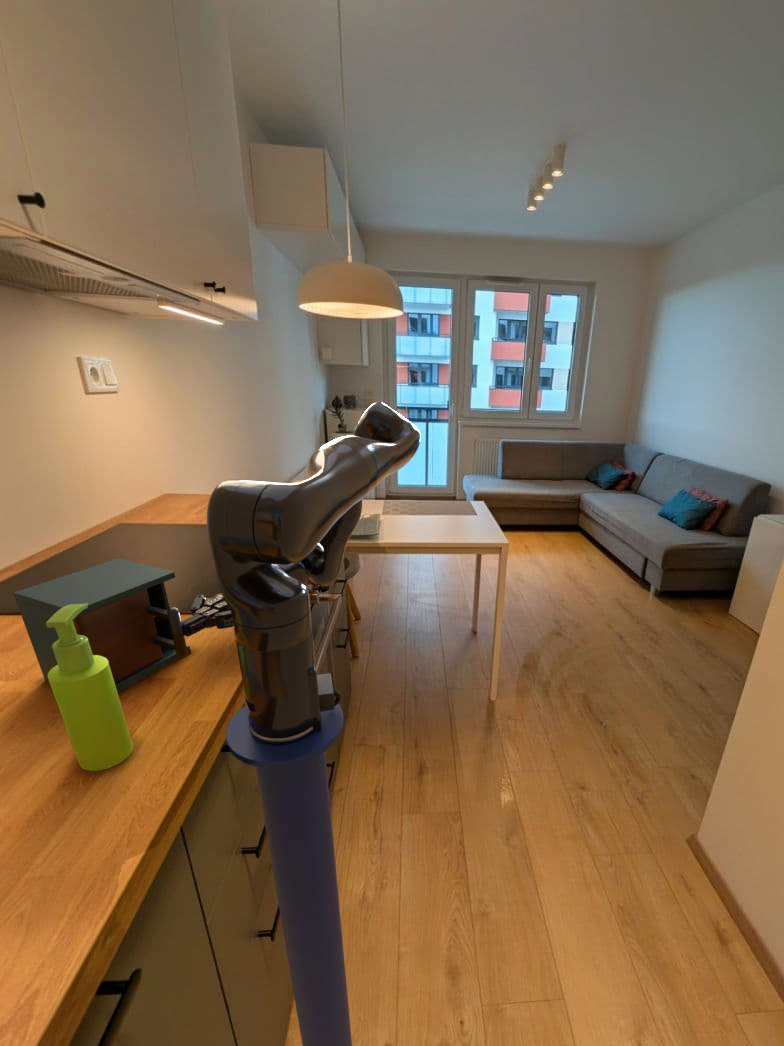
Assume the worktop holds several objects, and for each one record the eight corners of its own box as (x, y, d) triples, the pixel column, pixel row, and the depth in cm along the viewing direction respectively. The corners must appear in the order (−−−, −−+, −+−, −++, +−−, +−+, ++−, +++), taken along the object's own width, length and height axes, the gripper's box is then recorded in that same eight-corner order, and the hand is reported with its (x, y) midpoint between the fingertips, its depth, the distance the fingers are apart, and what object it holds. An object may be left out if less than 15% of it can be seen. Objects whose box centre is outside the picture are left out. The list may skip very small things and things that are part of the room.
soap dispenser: (143, 732, 69) (105, 599, 60) (122, 768, 63) (77, 626, 54) (95, 735, 68) (50, 601, 59) (69, 773, 62) (15, 629, 53)
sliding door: (193, 667, 82) (178, 596, 76) (134, 702, 73) (112, 624, 68) (158, 656, 85) (141, 586, 79) (97, 688, 76) (73, 612, 71)
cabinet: (191, 652, 88) (174, 571, 81) (101, 702, 74) (72, 611, 68) (138, 635, 92) (118, 558, 86) (44, 680, 79) (12, 592, 72)
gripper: (291, 616, 93) (217, 661, 79) (236, 601, 98) (156, 641, 83) (287, 578, 90) (209, 618, 75) (230, 565, 95) (146, 600, 80)
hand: (182, 630), depth 79 cm, fingers closed
